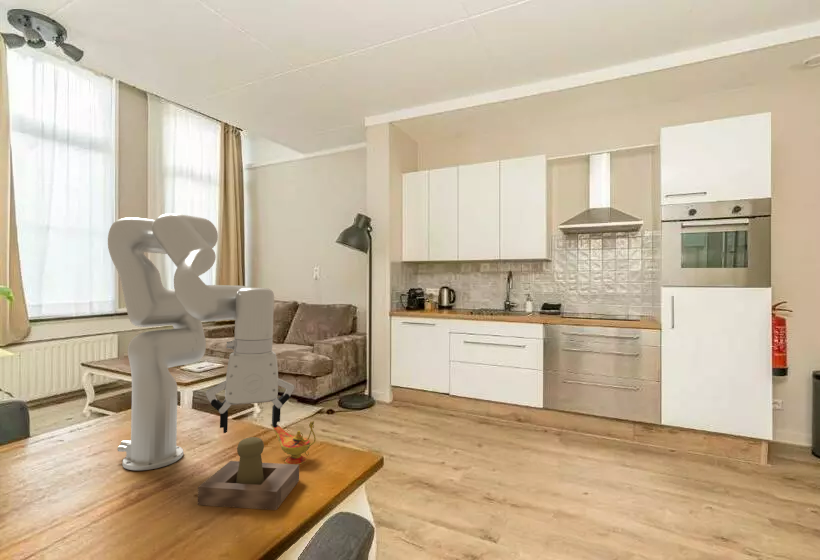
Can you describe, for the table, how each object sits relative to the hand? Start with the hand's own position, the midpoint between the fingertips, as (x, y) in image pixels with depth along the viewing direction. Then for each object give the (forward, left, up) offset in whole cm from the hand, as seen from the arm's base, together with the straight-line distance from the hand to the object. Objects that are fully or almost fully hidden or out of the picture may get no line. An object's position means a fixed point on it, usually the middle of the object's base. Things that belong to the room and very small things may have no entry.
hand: (250, 428), depth 86 cm
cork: (0, 0, -13) cm, 13 cm away
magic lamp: (+3, +17, -13) cm, 22 cm away
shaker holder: (+1, 0, -13) cm, 13 cm away
